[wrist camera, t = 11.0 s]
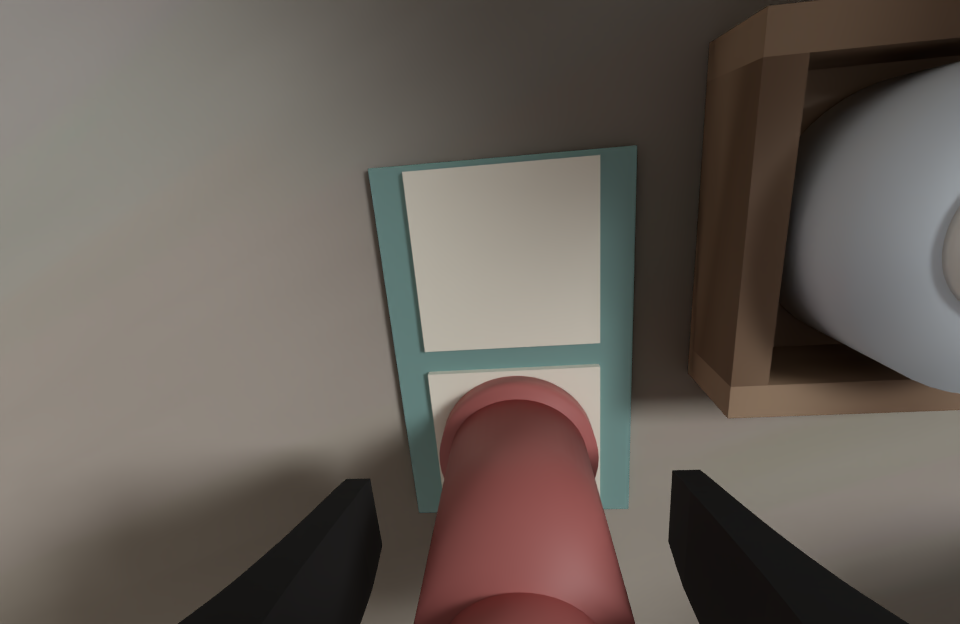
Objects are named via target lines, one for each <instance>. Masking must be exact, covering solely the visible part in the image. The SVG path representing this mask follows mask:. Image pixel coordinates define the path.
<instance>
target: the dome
mask: <svg viewBox="0 0 960 624" xmlns="http://www.w3.org/2000/svg"><path fill="white" fill-rule="evenodd" d="M779 303H780V304H781V305H782V306H783V307H784V308H785V309H786V310H787V311H788V312H789V313H790V314H792V315H793V316H794V317H795V318H797V319H798V320H800V321H802V322H803V323H805V324H807V325H808V326H810V327H812V328H814V329H816V330H818V331H820V332H822V333H824V334H825V335H827V336H829V337H831V338H833V339H835V340H837V341H839V342H841V343H843V344H845V345H847V346H848V347H850V348H852V349H854V350H856V351H858V352H860V353H862V354H864V355H866V356H868V357H870V358H872V359H873V360H875V361H877V362H879V363H881V364H883V365H885V366H887V367H889V368H891V369H893V370H895V371H896V372H898V373H900V374H902V375H904V376H906V377H908V378H910V379H912V380H914V381H917V382H919V383H922V384H924V385H926V386H929V387H932V388H936V389H940V390H943V391H947V392H952V393H960V61H959V62H955V63H950V64H946V65H942V66H938V67H934V68H930V69H925V70H921V71H917V72H913V73H909V74H905V75H901V76H897V77H894V78H890V79H887V80H883V81H880V82H878V83H876V84H873V85H871V86H868V87H866V88H864V89H861V90H860V91H858V92H856V93H854V94H852V95H851V96H849V97H847V98H845V99H843V100H842V101H841V102H839V103H838V104H836V105H835V106H833V107H832V108H831V109H829V110H828V111H826V112H825V113H824V114H823V115H822V116H820V117H819V118H818V119H817V120H816V121H815V122H814V123H812V124H811V125H810V126H809V127H808V128H807V129H806V130H805V132H804V133H803V134H802V135H801V136H800V138H799V146H798V154H797V162H796V169H795V177H794V185H793V193H792V201H791V209H790V217H789V225H788V233H787V241H786V248H785V256H784V264H783V272H782V280H781V288H780V296H779Z"/></svg>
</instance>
